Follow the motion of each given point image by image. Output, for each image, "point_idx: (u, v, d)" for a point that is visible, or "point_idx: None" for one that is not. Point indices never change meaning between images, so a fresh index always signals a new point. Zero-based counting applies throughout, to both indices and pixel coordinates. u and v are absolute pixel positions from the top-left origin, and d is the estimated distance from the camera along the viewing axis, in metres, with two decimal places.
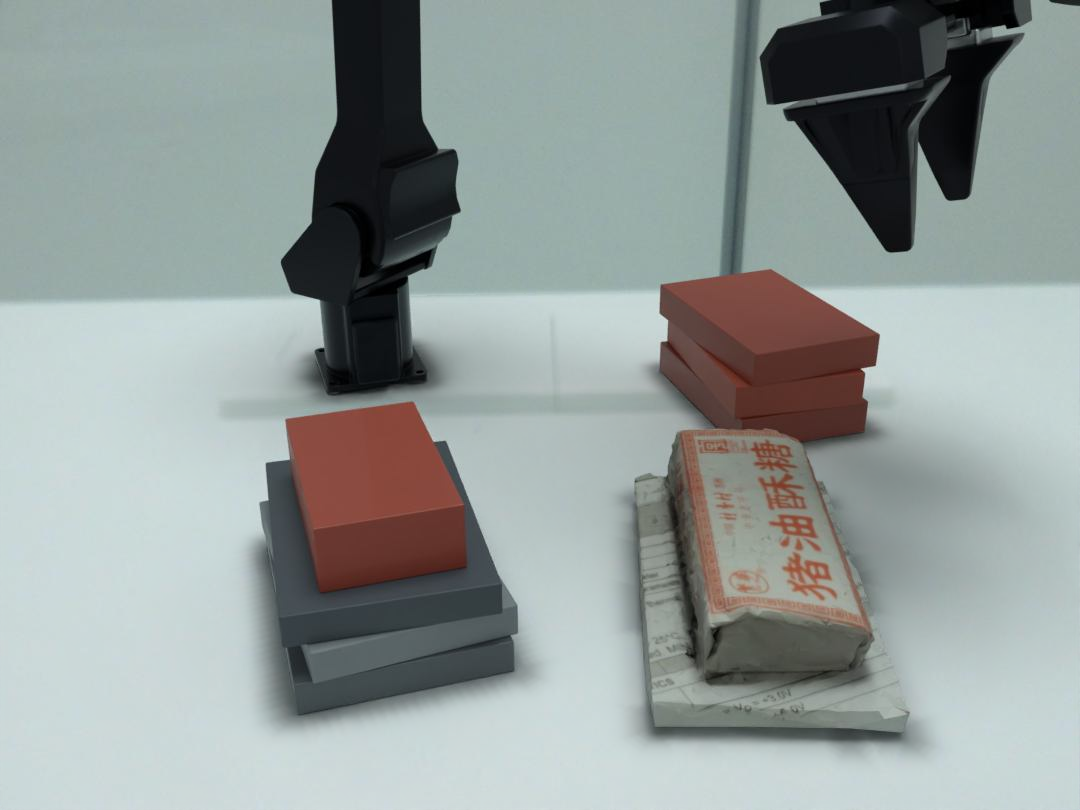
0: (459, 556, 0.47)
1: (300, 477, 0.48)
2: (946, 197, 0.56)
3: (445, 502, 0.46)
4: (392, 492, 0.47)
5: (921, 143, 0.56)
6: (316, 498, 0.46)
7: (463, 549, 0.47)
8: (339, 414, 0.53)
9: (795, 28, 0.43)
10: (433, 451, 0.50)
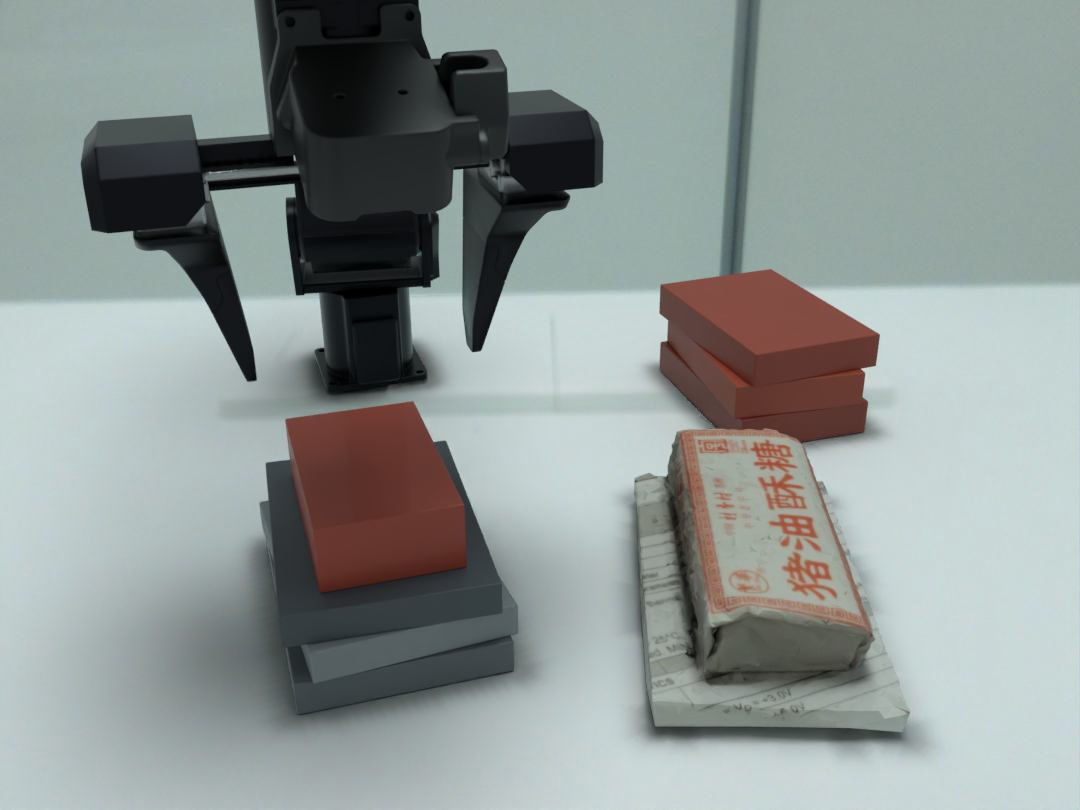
0: (459, 556, 0.47)
1: (300, 477, 0.48)
2: (466, 340, 0.49)
3: (445, 502, 0.46)
4: (392, 492, 0.47)
5: (462, 272, 0.49)
6: (316, 498, 0.46)
7: (463, 549, 0.47)
8: (339, 414, 0.53)
9: (94, 129, 0.42)
10: (433, 451, 0.50)
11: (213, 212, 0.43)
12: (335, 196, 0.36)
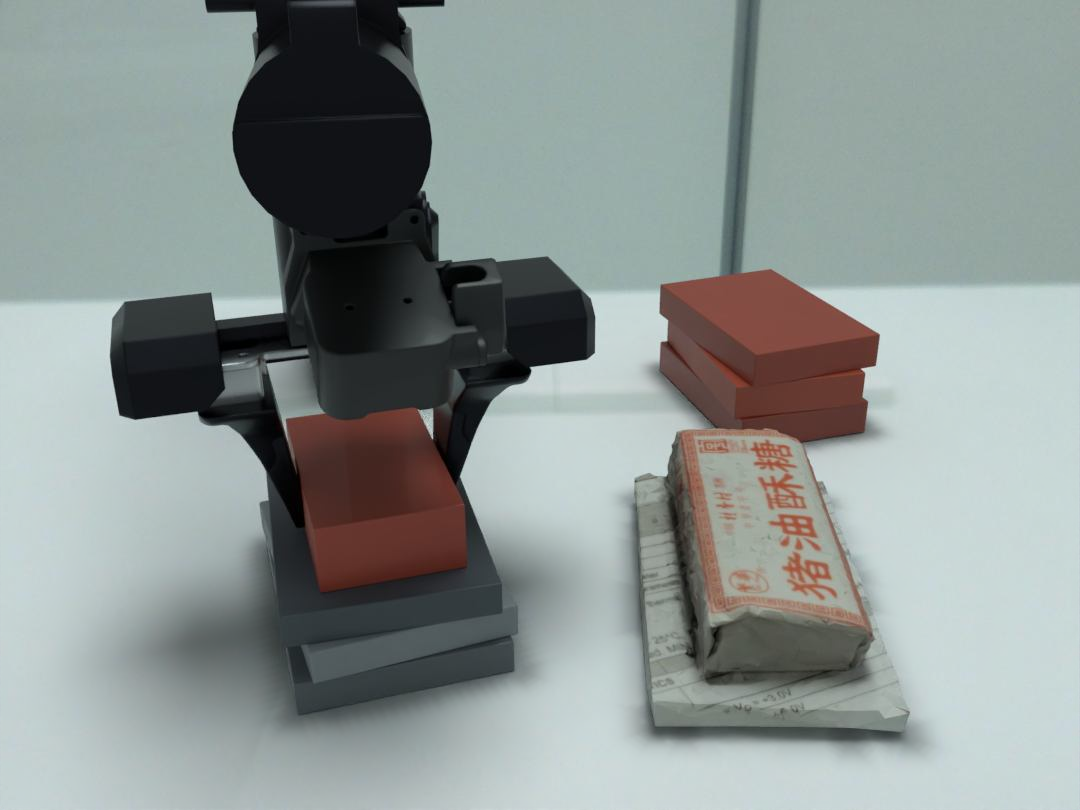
0: (459, 556, 0.47)
1: (300, 477, 0.48)
2: None
3: (445, 502, 0.46)
4: (392, 492, 0.47)
5: (433, 427, 0.51)
6: (317, 498, 0.46)
7: (463, 549, 0.47)
8: None
9: (121, 311, 0.45)
10: (433, 451, 0.50)
11: (269, 381, 0.46)
12: (345, 400, 0.39)
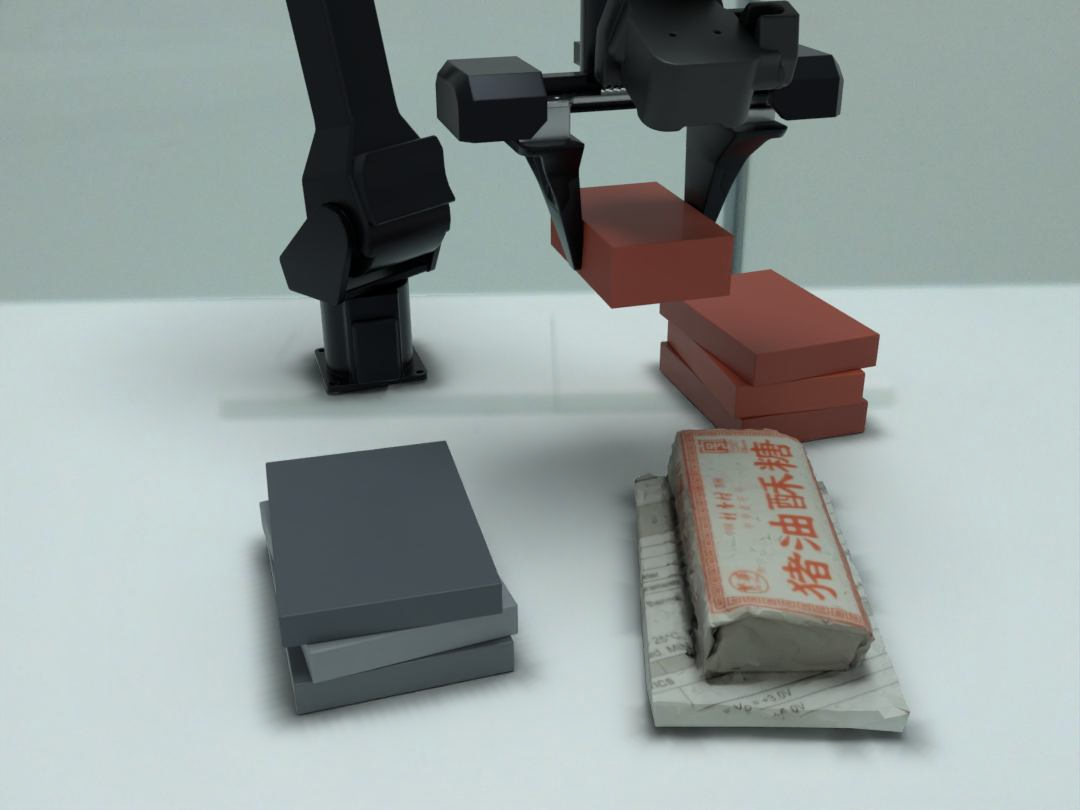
0: (725, 284, 0.55)
1: (584, 221, 0.56)
2: None
3: (717, 234, 0.54)
4: (668, 229, 0.54)
5: (685, 193, 0.59)
6: (605, 232, 0.54)
7: (729, 278, 0.54)
8: (596, 188, 0.61)
9: (447, 65, 0.53)
10: (690, 208, 0.58)
11: None
12: (669, 111, 0.47)
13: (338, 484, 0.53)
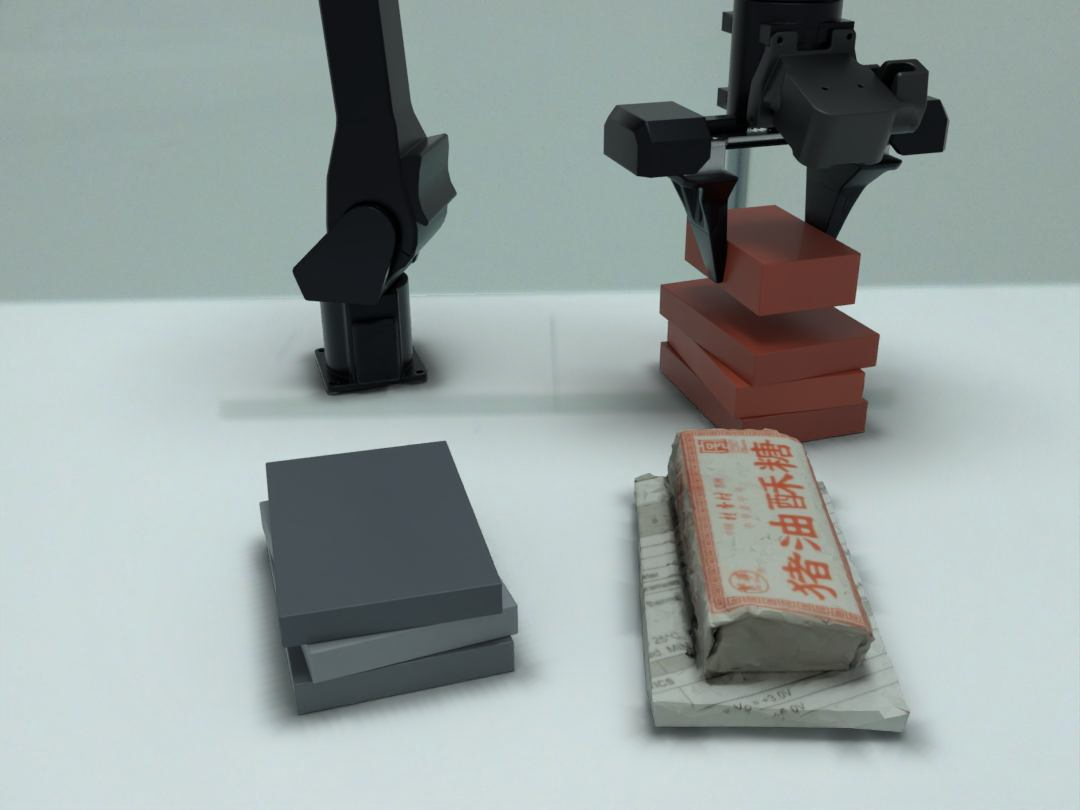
0: (851, 294, 0.64)
1: (728, 241, 0.65)
2: None
3: (846, 252, 0.63)
4: (803, 248, 0.64)
5: (805, 215, 0.69)
6: (751, 250, 0.64)
7: (855, 289, 0.64)
8: None
9: (618, 110, 0.62)
10: (814, 228, 0.67)
11: None
12: (823, 152, 0.57)
13: (338, 484, 0.53)
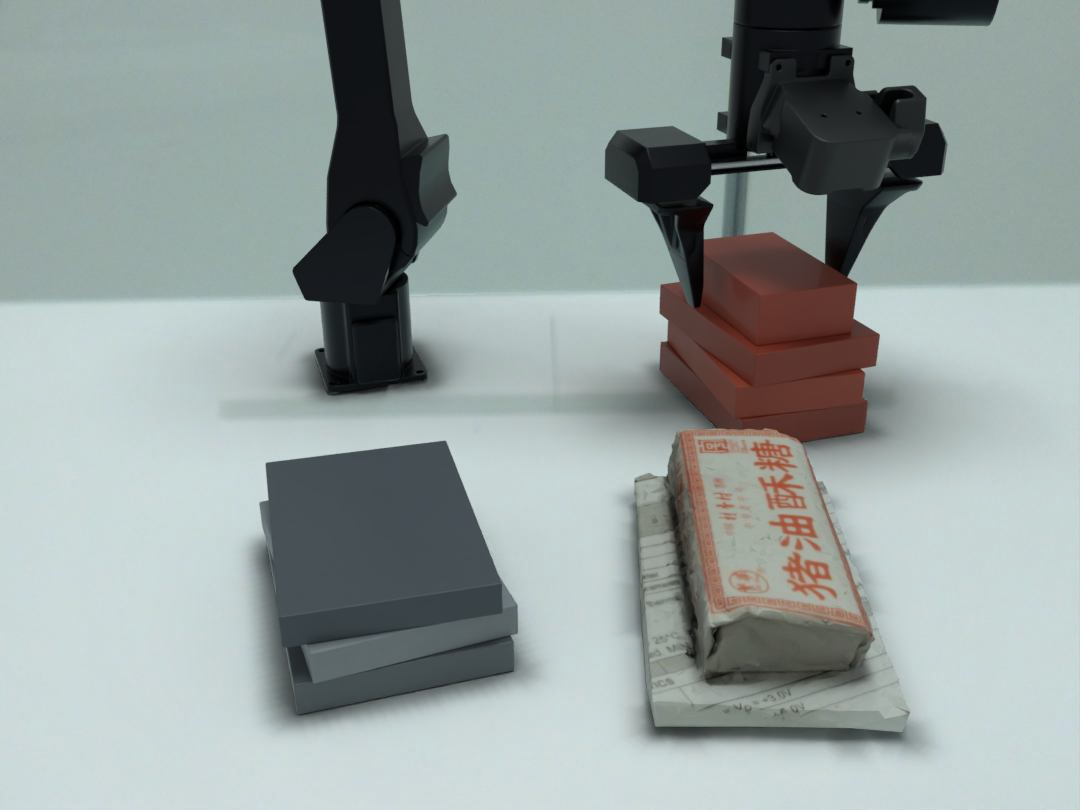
0: (848, 324, 0.65)
1: (726, 270, 0.66)
2: None
3: (843, 282, 0.64)
4: (800, 277, 0.65)
5: (826, 234, 0.70)
6: (748, 281, 0.64)
7: (851, 318, 0.65)
8: (723, 238, 0.71)
9: (619, 135, 0.63)
10: (811, 257, 0.68)
11: None
12: (822, 179, 0.57)
13: (338, 484, 0.53)
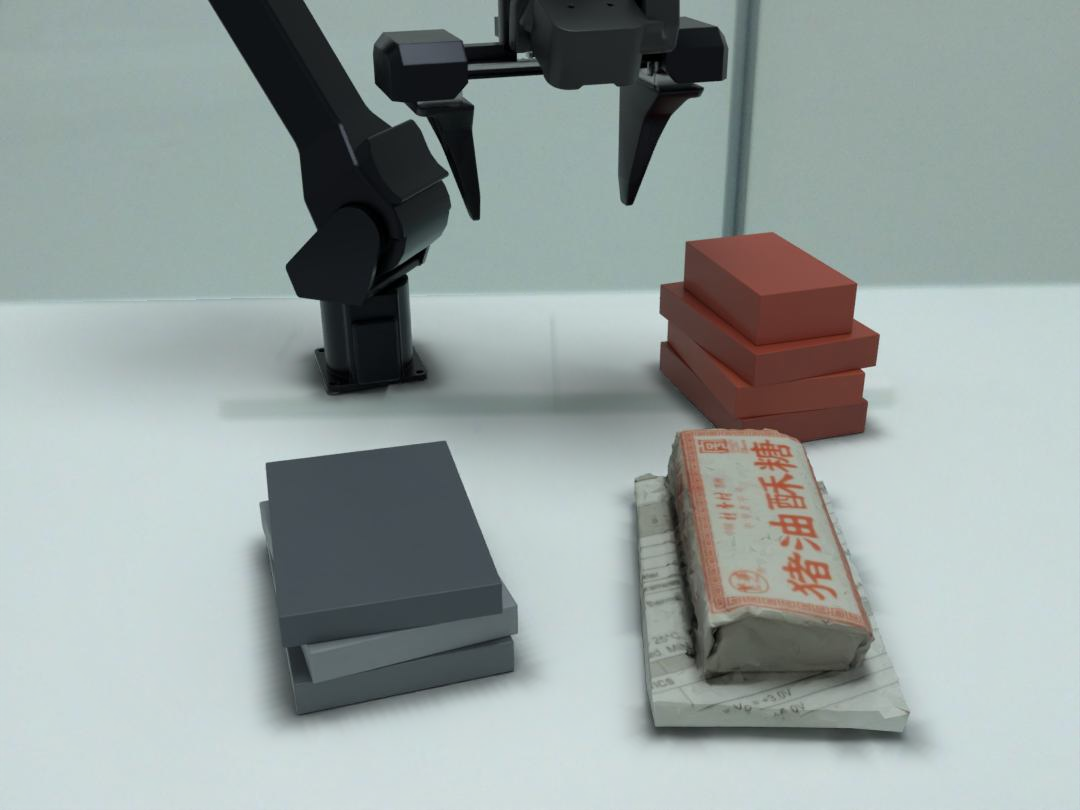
0: (848, 324, 0.65)
1: (726, 270, 0.66)
2: (620, 198, 0.68)
3: (843, 282, 0.64)
4: (800, 277, 0.65)
5: (619, 148, 0.68)
6: (748, 281, 0.64)
7: (851, 318, 0.65)
8: (723, 238, 0.71)
9: (382, 36, 0.61)
10: (811, 257, 0.68)
11: None
12: (568, 71, 0.55)
13: (338, 484, 0.53)
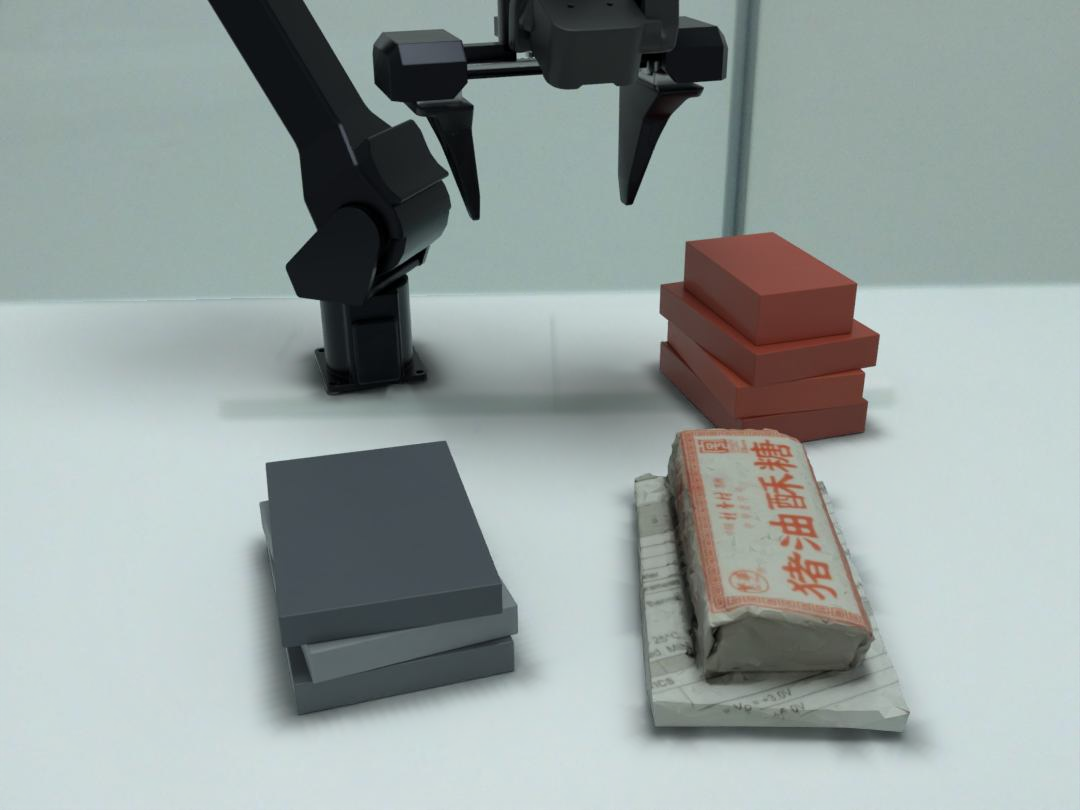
0: (848, 324, 0.65)
1: (726, 270, 0.66)
2: (620, 198, 0.68)
3: (843, 282, 0.64)
4: (800, 277, 0.65)
5: (618, 148, 0.68)
6: (748, 281, 0.64)
7: (851, 318, 0.65)
8: (723, 238, 0.71)
9: (382, 36, 0.61)
10: (811, 257, 0.68)
11: None
12: (568, 71, 0.55)
13: (338, 484, 0.53)
